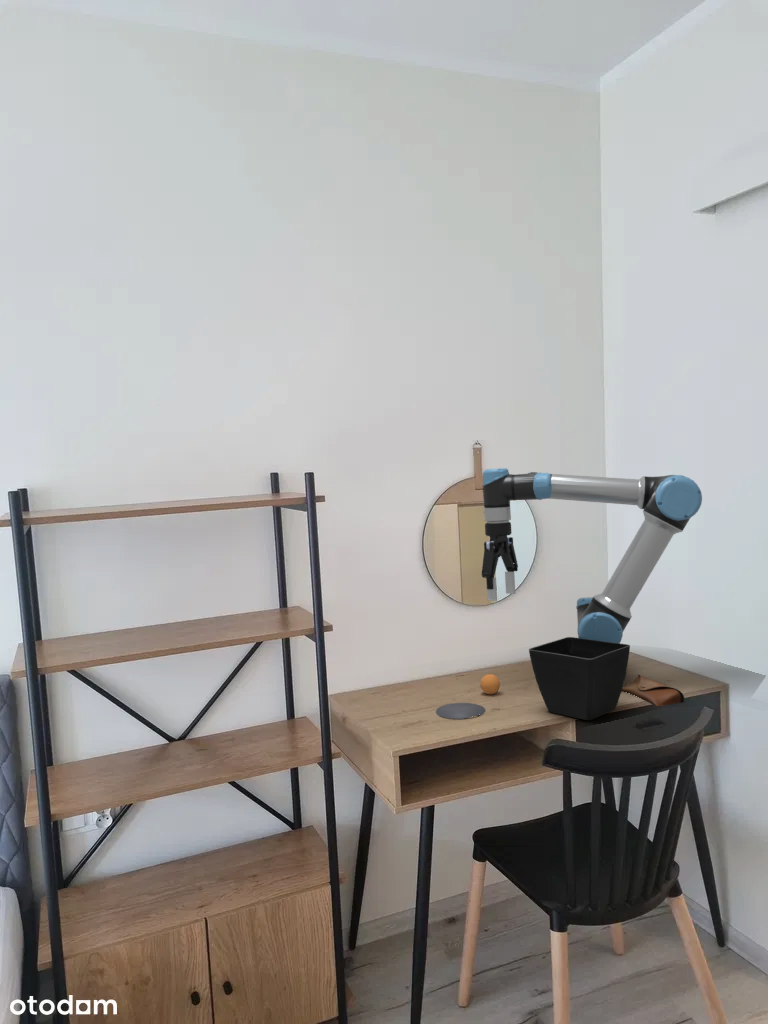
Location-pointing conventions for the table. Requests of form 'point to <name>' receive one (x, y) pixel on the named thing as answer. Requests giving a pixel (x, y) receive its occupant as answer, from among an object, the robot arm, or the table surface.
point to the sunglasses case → (653, 691)
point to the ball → (490, 684)
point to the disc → (460, 710)
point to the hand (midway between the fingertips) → (501, 596)
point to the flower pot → (580, 675)
